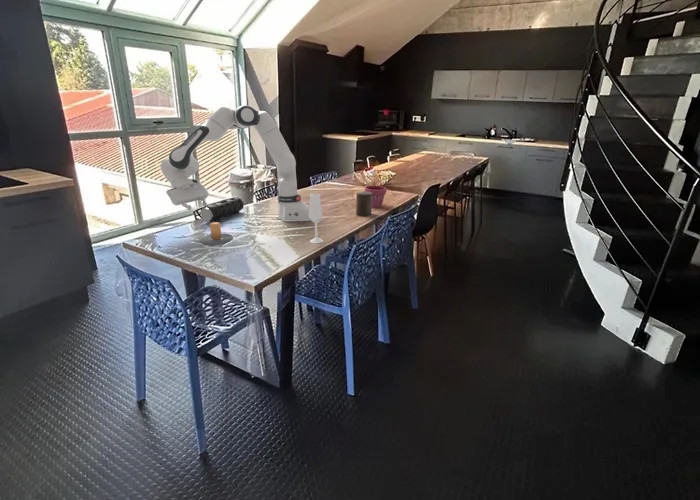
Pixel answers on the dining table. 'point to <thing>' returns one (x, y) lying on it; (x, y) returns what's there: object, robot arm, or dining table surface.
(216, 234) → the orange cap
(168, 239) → the dining table surface
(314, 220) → the champagne flute
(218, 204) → the muzzle brake
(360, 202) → the pillar candle
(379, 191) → the plant pot
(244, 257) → the dining table surface
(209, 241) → the slate plate
